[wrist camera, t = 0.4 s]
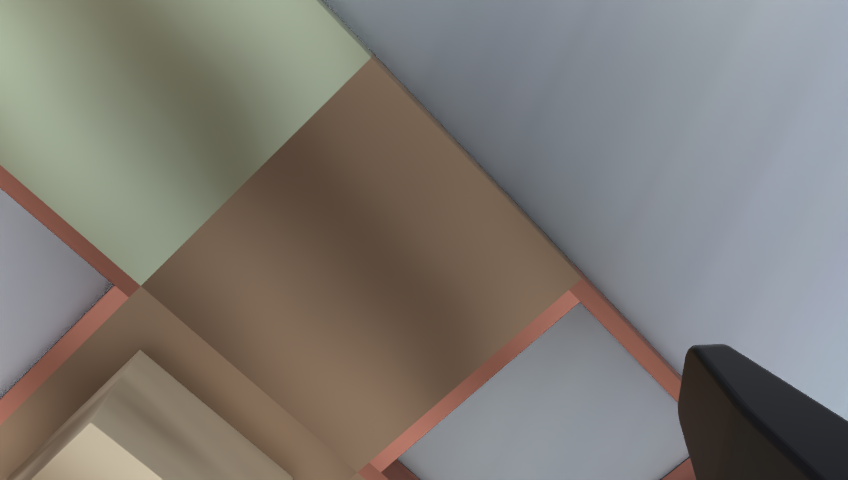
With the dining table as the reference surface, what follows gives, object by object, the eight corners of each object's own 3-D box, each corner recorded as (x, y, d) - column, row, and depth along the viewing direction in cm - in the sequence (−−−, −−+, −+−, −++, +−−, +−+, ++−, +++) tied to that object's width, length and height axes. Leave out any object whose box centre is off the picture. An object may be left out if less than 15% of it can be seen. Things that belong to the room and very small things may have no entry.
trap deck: (349, 739, 30) (346, 778, 28) (-276, 274, 23) (-319, 293, 22) (737, 436, 26) (757, 462, 25) (132, -200, 20) (113, -214, 19)
